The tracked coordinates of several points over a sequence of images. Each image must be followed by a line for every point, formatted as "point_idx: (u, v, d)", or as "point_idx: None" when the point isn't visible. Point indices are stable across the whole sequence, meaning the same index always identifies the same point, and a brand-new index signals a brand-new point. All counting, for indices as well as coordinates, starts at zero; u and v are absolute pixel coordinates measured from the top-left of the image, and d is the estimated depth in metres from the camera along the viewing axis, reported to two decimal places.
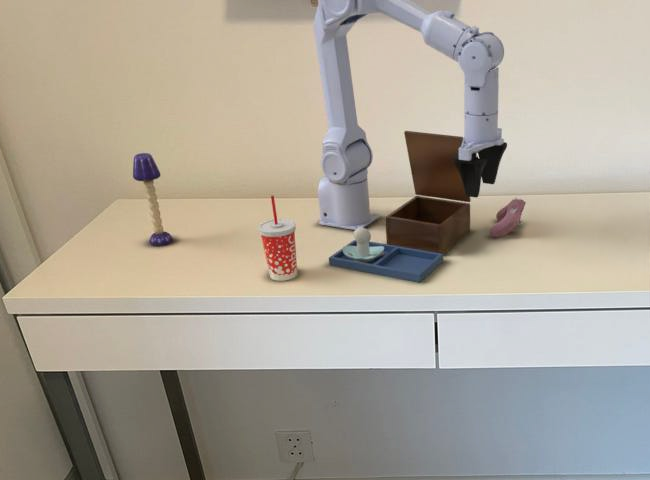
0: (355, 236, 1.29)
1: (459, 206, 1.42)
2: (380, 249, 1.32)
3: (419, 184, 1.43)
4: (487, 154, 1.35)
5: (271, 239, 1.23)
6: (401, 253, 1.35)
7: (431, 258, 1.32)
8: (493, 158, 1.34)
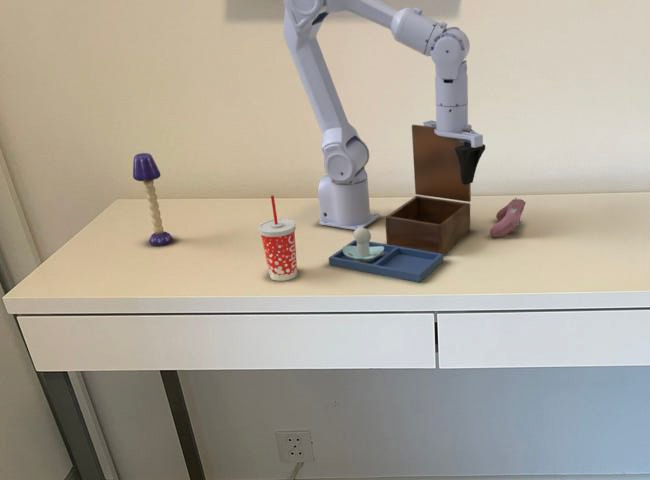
0: (355, 236, 1.29)
1: (459, 206, 1.42)
2: (380, 249, 1.32)
3: (420, 182, 1.43)
4: None
5: (271, 239, 1.23)
6: (401, 253, 1.35)
7: (431, 258, 1.32)
8: None
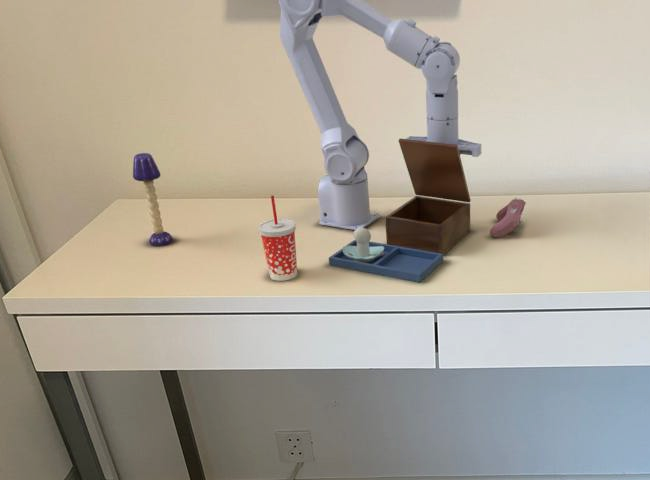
0: (355, 236, 1.29)
1: (459, 206, 1.42)
2: (380, 249, 1.32)
3: (418, 186, 1.42)
4: None
5: (271, 239, 1.23)
6: (401, 253, 1.35)
7: (431, 258, 1.32)
8: None
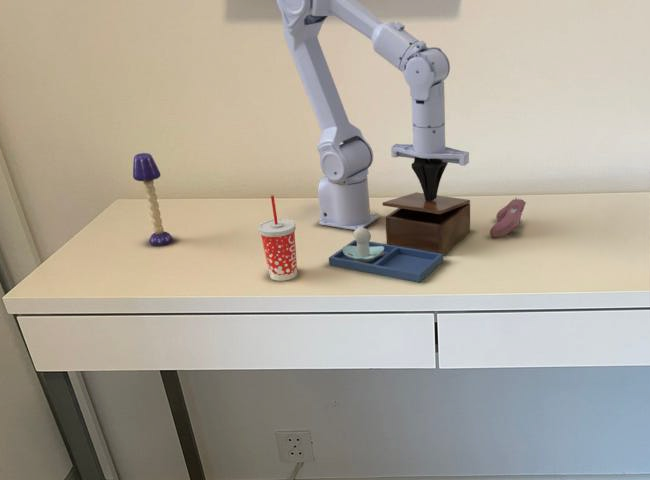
0: (355, 236, 1.29)
1: None
2: (380, 249, 1.32)
3: None
4: None
5: (271, 239, 1.23)
6: (401, 253, 1.35)
7: (431, 258, 1.32)
8: None
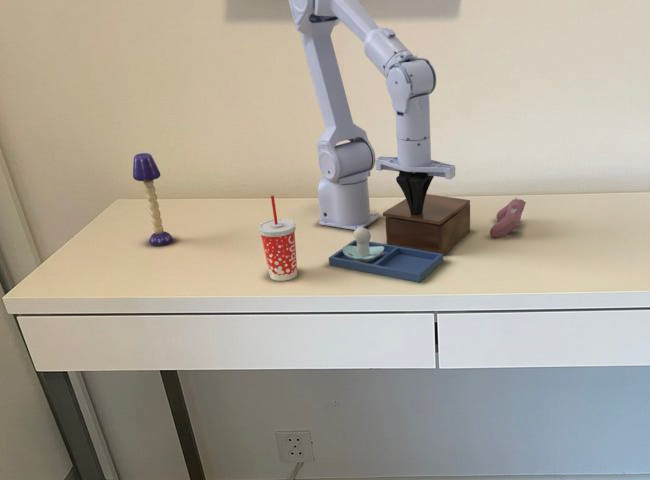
0: (355, 236, 1.29)
1: None
2: (380, 249, 1.32)
3: None
4: None
5: (271, 239, 1.23)
6: (401, 253, 1.35)
7: (431, 258, 1.32)
8: None
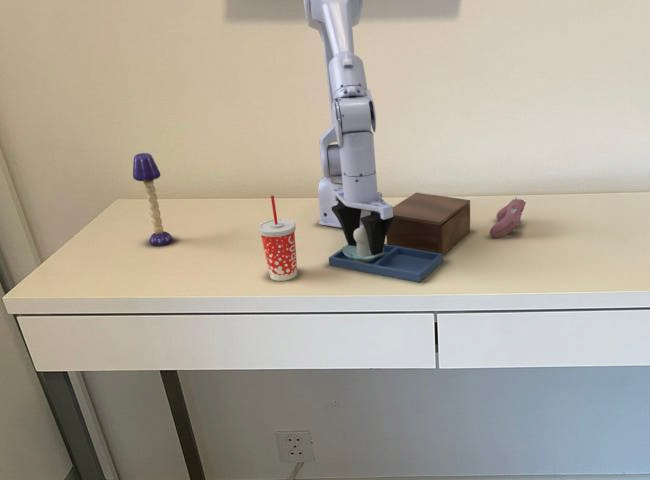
0: (355, 236, 1.29)
1: None
2: None
3: None
4: (350, 215, 1.31)
5: (271, 239, 1.23)
6: (401, 253, 1.35)
7: (431, 258, 1.32)
8: (355, 217, 1.32)
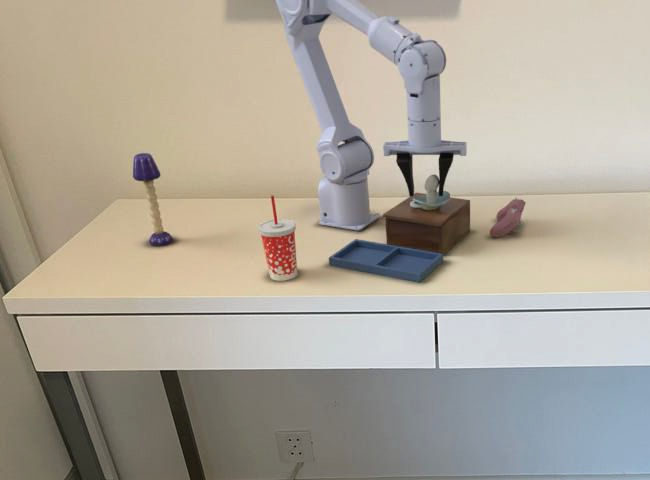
0: (430, 184, 1.33)
1: None
2: None
3: None
4: (411, 166, 1.33)
5: (271, 239, 1.23)
6: (401, 253, 1.35)
7: (431, 258, 1.32)
8: None
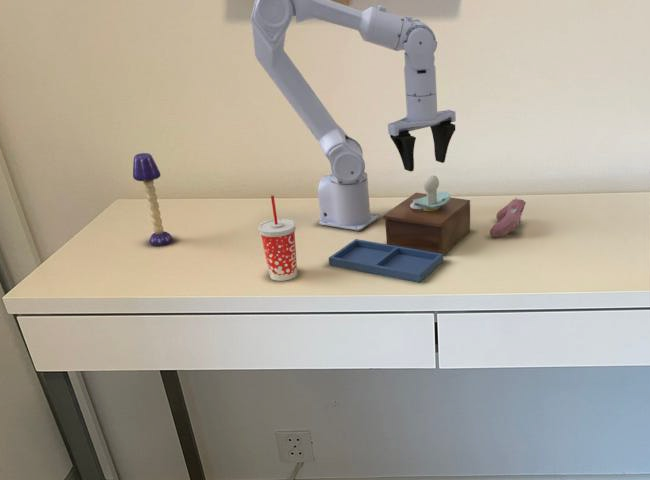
0: (429, 185, 1.33)
1: None
2: (441, 194, 1.38)
3: None
4: None
5: (271, 239, 1.23)
6: (401, 253, 1.35)
7: (431, 258, 1.32)
8: None
